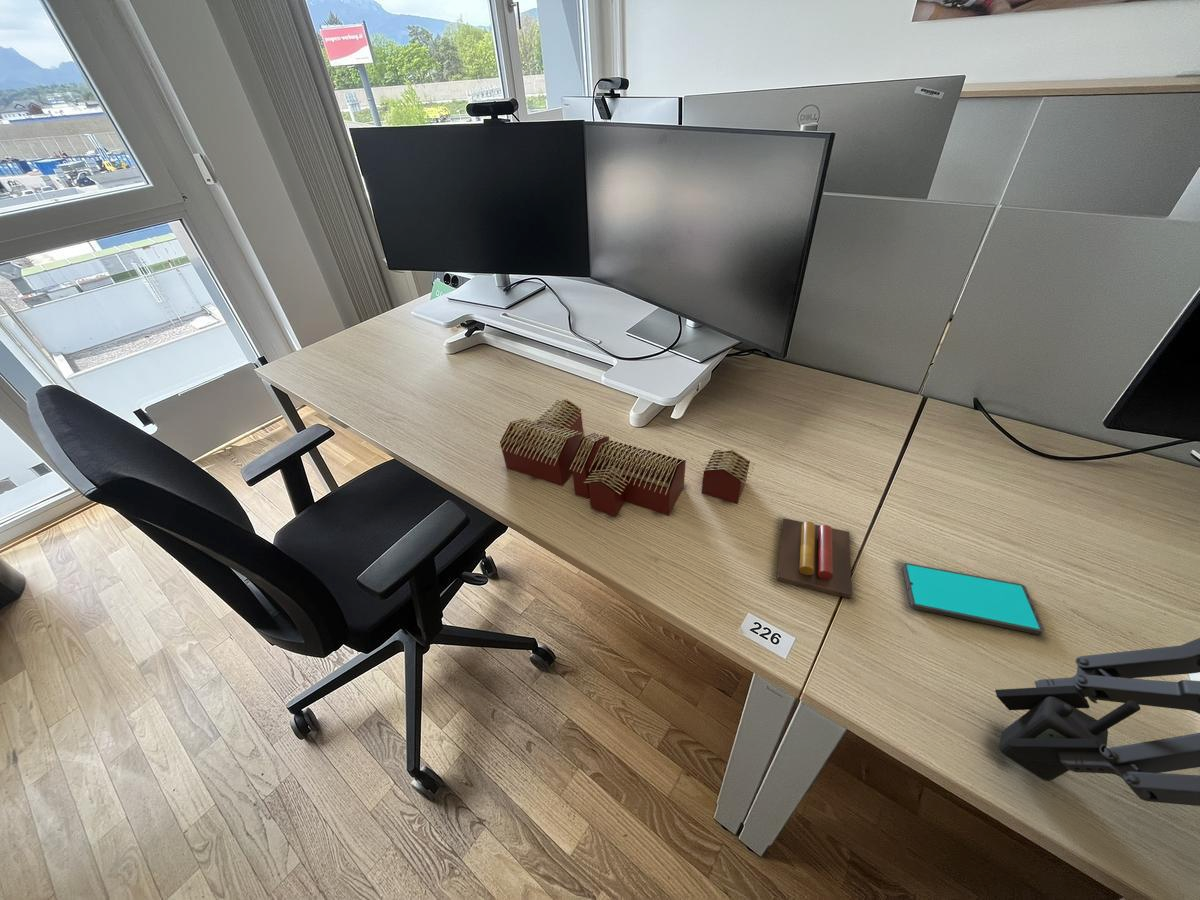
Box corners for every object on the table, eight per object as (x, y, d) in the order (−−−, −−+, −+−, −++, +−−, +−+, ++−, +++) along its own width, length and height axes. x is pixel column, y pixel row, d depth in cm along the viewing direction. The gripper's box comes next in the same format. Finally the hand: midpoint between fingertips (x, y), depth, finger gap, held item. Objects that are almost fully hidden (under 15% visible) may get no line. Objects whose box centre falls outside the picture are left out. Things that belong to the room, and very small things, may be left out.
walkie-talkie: (996, 751, 50) (1080, 691, 40) (1002, 725, 52) (1084, 662, 42) (1053, 787, 47) (1156, 731, 38) (1057, 758, 49) (1157, 699, 40)
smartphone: (1045, 632, 59) (913, 604, 63) (1041, 635, 60) (911, 608, 64) (1024, 584, 65) (903, 561, 69) (1021, 587, 65) (901, 565, 69)
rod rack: (847, 535, 74) (852, 523, 72) (850, 598, 66) (856, 587, 64) (782, 521, 77) (785, 509, 75) (776, 580, 69) (780, 568, 67)
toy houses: (498, 476, 90) (486, 436, 84) (553, 418, 104) (546, 380, 97) (725, 554, 73) (733, 511, 66) (755, 472, 86) (764, 430, 80)
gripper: (1570, 905, 27) (1055, 842, 42) (1337, 636, 39) (1003, 664, 54) (1543, 845, 25) (1015, 803, 40) (1307, 583, 37) (971, 628, 53)
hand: (1009, 723), depth 47 cm, fingers closed on walkie-talkie, 4 cm apart
